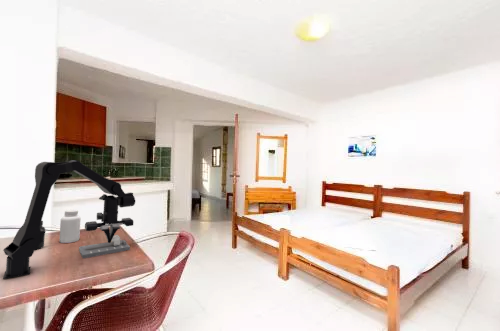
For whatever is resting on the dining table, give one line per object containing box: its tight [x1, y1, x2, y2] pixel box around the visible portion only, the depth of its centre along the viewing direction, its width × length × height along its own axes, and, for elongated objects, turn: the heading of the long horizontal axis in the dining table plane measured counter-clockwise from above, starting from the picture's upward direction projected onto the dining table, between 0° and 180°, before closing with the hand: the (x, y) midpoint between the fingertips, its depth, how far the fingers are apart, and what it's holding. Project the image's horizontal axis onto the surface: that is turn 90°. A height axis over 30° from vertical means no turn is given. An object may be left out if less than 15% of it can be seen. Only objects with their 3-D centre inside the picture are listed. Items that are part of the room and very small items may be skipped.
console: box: [78, 239, 131, 259], centre depth 107 cm, size 12×18×3 cm, turn 132°
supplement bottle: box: [34, 220, 46, 251], centre depth 105 cm, size 7×7×12 cm
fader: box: [111, 234, 121, 246], centre depth 110 cm, size 5×2×4 cm, turn 42°
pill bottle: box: [58, 209, 81, 244], centre depth 117 cm, size 8×8×15 cm
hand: (109, 242), depth 108 cm, fingers closed
